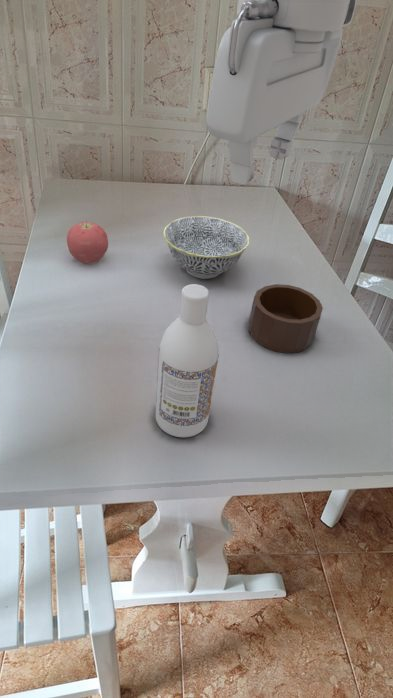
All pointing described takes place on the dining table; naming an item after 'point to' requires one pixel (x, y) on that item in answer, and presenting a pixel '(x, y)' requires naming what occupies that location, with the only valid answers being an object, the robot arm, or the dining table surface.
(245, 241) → the bowl
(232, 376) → the dining table surface
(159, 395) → the bath foam
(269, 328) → the cup
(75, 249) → the apple
